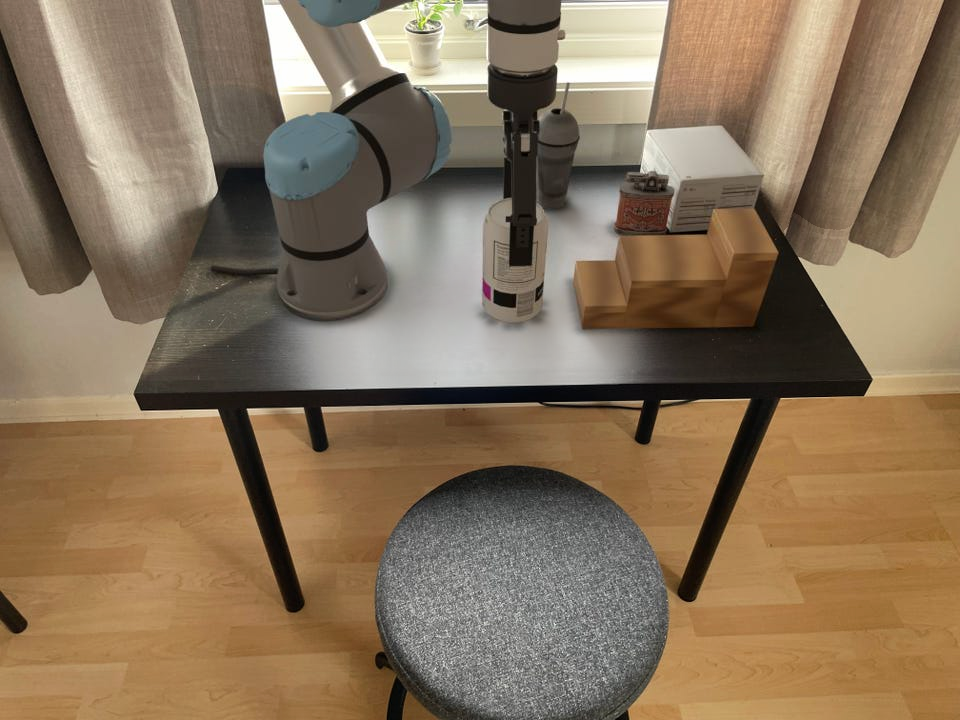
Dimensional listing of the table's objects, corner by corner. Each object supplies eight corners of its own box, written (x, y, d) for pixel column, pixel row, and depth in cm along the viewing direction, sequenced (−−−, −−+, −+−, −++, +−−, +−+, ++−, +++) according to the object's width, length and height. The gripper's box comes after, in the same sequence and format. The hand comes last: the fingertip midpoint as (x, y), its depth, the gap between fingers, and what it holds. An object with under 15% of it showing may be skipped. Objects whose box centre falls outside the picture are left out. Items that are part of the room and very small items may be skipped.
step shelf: (581, 329, 98) (591, 255, 90) (572, 283, 105) (581, 210, 97) (753, 326, 99) (778, 252, 90) (732, 281, 106) (754, 208, 97)
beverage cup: (539, 185, 125) (546, 67, 111) (579, 195, 122) (592, 76, 109) (521, 206, 120) (527, 86, 106) (563, 217, 118) (575, 95, 104)
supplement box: (750, 228, 116) (766, 174, 109) (669, 234, 114) (681, 180, 108) (710, 174, 128) (723, 123, 121) (637, 179, 126) (646, 128, 120)
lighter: (665, 226, 116) (676, 168, 109) (666, 238, 113) (679, 180, 107) (613, 223, 116) (621, 166, 110) (614, 235, 114) (622, 177, 107)
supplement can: (469, 306, 101) (469, 212, 91) (510, 280, 106) (514, 188, 95) (513, 334, 97) (517, 239, 87) (554, 306, 101) (563, 212, 91)
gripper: (571, 114, 69) (556, 293, 84) (546, 21, 88) (537, 181, 102) (492, 115, 69) (490, 294, 84) (483, 22, 87) (483, 182, 102)
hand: (516, 232), depth 93 cm, fingers open, 13 cm apart
